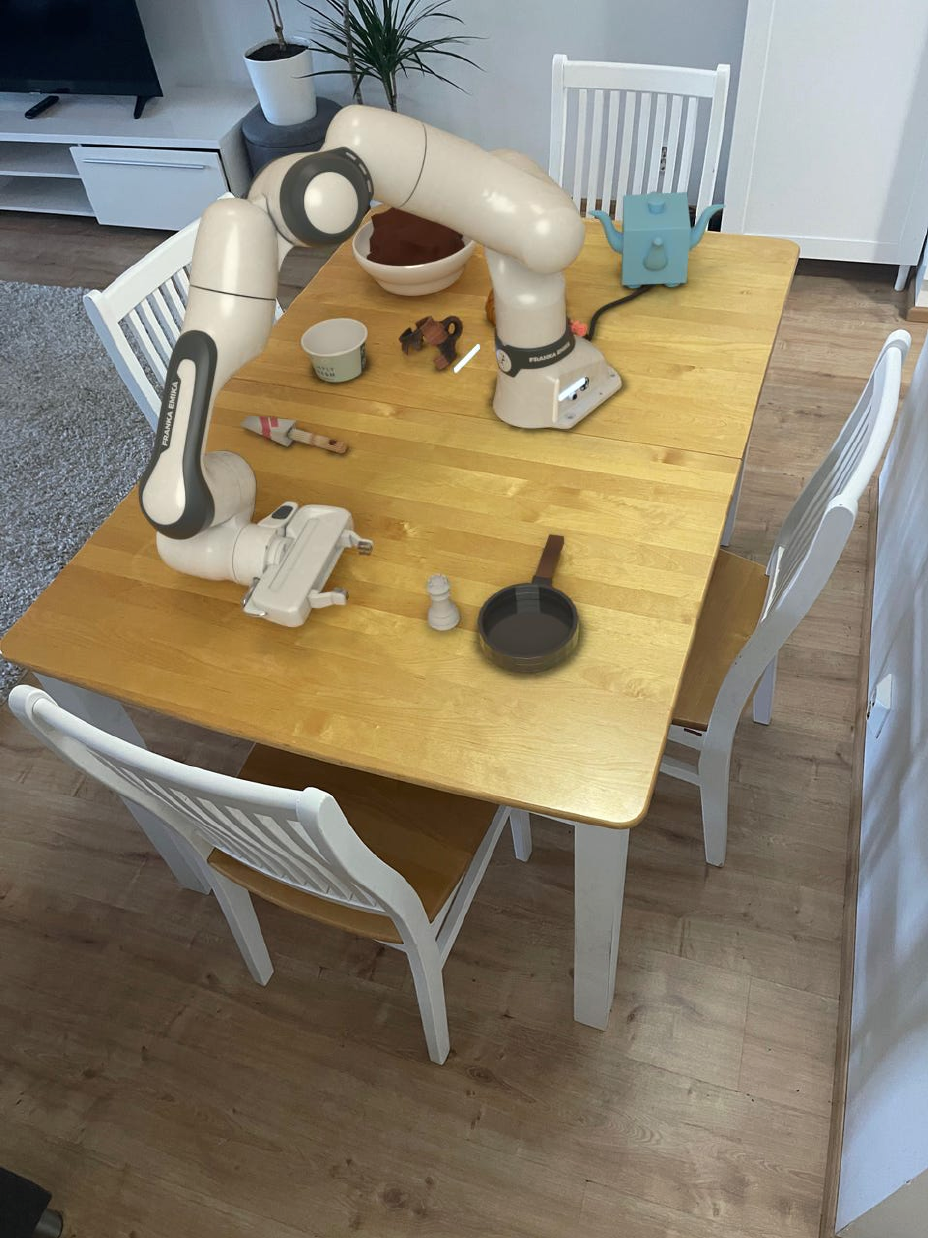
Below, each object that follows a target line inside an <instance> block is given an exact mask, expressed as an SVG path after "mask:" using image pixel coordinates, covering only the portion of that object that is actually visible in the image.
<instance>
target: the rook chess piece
mask: <svg viewBox="0 0 928 1238" xmlns="http://www.w3.org/2000/svg"><path fill="white" fill-rule="evenodd" d="M429 577H430V578H428V579H427V582H426V584H425V588H426V591H427V592H428V595H429V598H430V600H431V602H430V603H431V605H429V608H428V610H427V623H428V625H429V626H430V627H431V628H432V629H435V630H437V631H440V632H446V631H449V630H452V629H453V628H455V627H456V626H457V625H458V624H459V622H460V620H461V615H460V611H459V608H458V607H457V604H455V603H454V602H453V601H452V600H451V598H450V594H451V590H450V588H451V581H450V580H449V579H448V578H447V576H446V575H445V574H443V575H442V574H441V573H436V575H434V574H432V575H430V576H429Z"/></svg>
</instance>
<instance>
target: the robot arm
mask: <svg viewBox="0 0 928 1238" xmlns="http://www.w3.org/2000/svg"><path fill="white" fill-rule="evenodd" d="M372 201H374V202H378V203H380V204H383V205H386V206H388V207H390V208H391V207H394V208H396V209H399V210H402V211H405V212H408V213H411V214H414V215H416V216H419V217H422V218H425V219H428V220H430V221H433V222H436V223H439V224H441V225H444V226H446V227H448V228H450V229H453V230H455V231H457V232H458V233H460V234H462V235H464V236H466V237H468V238H469V239H471V240H473V241H475V242H477V243H478V244H479V245H481V246H482V247H483V250H484V256H485V259H486V263H487V264H486V265H487V267H488V271H489V276H490V281H491V285H492V288H493V295H494V306H495V317H496V325H495V328H494V332H493V334H494V335H493V336H494V350H495V351H494V352H495V357H496V364H497V377H496V386H495V392H494V397H493V400H492V410H493V411H494V414H495V415H496V417H498V418H499V419H500V420H501V421H503V422H504V423H505V424H509V425H511V426H514V427H518V428H523V429H543V428H553V429H561V430H568V429H572V428H573V427H574V426H576V425H578V423H579V422H581V421H582V420H583V419H585V417H587V416H588V415H589V414H590V413H592V412H593V411H594V410H596V409H597V408H599V407H600V406H601V405H602V404H603V403H604V402H605V401H607V400H608V399H609V398H611V397H612V396H613V395H614V394H616V393H617V392H618V391H619V390H620V389H621V388H622V386H623V384H622V383H623V382H622V378H621V376H620V375H619V373H618V372H617V371H616V370H615V369H614V368H613V367H612V366H610V365H609V364H608V363H607V359H606V356H605V355H604V353H603V352H602V350H601V349H600V347H598V346H597V345H595V344H594V343H593V342H591V341H590V340H591V339H592V338H593V336H594V333H595V328H596V322H597V320H598V318H599V317H600V315H601V314H603V313H604V312H605V311H608V310H609V309H611V308H614V307H616V306H619V305H621V304H624V303H626V302H629V301H631V300H634V299H635V298H637V297H639V296H640V295H642V294H645V293H646V292H647V291H649V290H650V289H653V288H654V287H656V286H657V285H658V284H646V285H645V286H643V287H642V288H640V289H638V290H637V291H635V292H633V293H631V294H628V295H626V296H625V297H621V298H619V299H617V300H614V301H612V302H609V303H607V304H604V305H603V306H602V307H600V308H599V309H598V310H597V311H595V313H594V314H593V316H592V318H591V321H590V325H589V330H588V325H586V324H585V323H582V322H581V321H580V320H576V321H572V318H571V317H569V316H567V293H566V292H567V291H566V279H565V275H564V272H563V271H564V270H565V269H566V270H567V268H569V267H570V266H571V265H572V264H573V263H574V262H575V261H576V260H577V259H578V257H579V256H580V254H581V252H582V250H583V248H584V245H585V241H586V227H585V222H584V220H583V218H582V216H581V213H580V210H579V209H578V207H577V205H576V203H575V201H574V199H573V198H572V197H571V196H570V194H569V193H567V191H565V190H564V189H563V188H562V187H561V186H560V185H559V184H558V183H557V181H556V180H554V178H552V177H551V176H550V174H548V173H547V172H546V170H545V169H544V168H542V166H541V165H539V163H537V162H536V161H535V160H534V159H533V158H532V157H531V156H529V155H527V154H524V153H522V152H520V151H517V150H514V149H511V148H507V147H505V148H503V147H500V148H496V149H493V150H491V151H487V150H485V149H483V148H481V147H480V146H478V145H477V144H475V143H474V142H472V141H470V140H467V139H464V138H463V137H460V136H457V135H455V134H452V133H450V132H448V131H445V130H443V129H440V128H438V127H436V126H433V125H431V124H428V123H425V122H423V121H422V120H418V119H416V118H413V117H410V116H408V115H404V114H402V113H398V112H396V111H392V110H388V109H384V108H379V107H374V106H368V105H363V104H349V105H347V106H345V107H343V108H342V109H340V110H339V111H338V112H337V113H336V114H335V115H334V117H333V118H332V120H331V121H330V123H329V125H328V127H327V130H326V134H325V139H324V143H323V144H322V146H321V147H320V149H319V150H317V151H308V152H296V153H291V154H289V155H280V156H276V157H274V158H272V159H270V160H268V161H267V162H265V163H264V164H263V165H262V166H261V167H260V168H259V169H258V170H257V172H256V173H255V175H254V176H253V178H252V180H251V181H250V183H249V184H248V185H247V186H246V189H245V190H244V191H243V193H242V195H241V196H240V197H226V198H221V199H217V200H215V201H213V202H211V203H210V204H208V205H207V206H206V207H205V208H204V210H203V212H202V214H201V217H200V220H199V224H198V227H197V231H196V236H195V241H194V246H193V252H192V256H191V262H190V263H191V264H190V269H189V271H190V272H189V280H188V292H187V298H186V299H187V301H186V307H185V312H184V317H183V322H182V326H181V329H180V332H179V335H178V337H177V340H176V342H175V345H174V347H173V349H172V352H171V354H170V358H169V362H168V365H167V372H166V376H165V381H164V386H163V391H162V392H163V393H162V397H161V404H160V410H159V415H158V421H157V427H156V433H155V438H154V444H153V449H152V453H151V455H150V458H149V461H148V463H147V465H146V467H145V469H144V471H143V473H142V475H141V477H140V480H139V483H138V492H137V493H138V502H139V507H140V509H141V512H142V514H143V516H144V518H145V520H146V521H147V522H148V524H149V525H150V526H151V527H152V528H153V529H154V530H155V531H156V533H155V534H156V536H155V543H156V549H157V552H158V555H159V556H160V558H161V560H162V561H163V562H164V563H165V564H166V565H167V566H168V567H170V568H171V569H172V570H175V571H177V572H178V573H182V574H185V575H188V576H192V577H195V578H201V579H205V580H208V581H209V580H210V581H216V582H221V581H231V582H234V583H235V584H237V585H240V586H243V587H248V589H247V591H246V592H245V594H244V595H243V596H242V598H241V600H240V606H241V607H240V608H241V611H242V613H243V614H244V615H246V616H248V617H254V618H262V619H264V620H267V621H269V622H272V623H274V624H277V625H280V626H284V627H289V628H297V627H300V626H302V625H304V624H305V622H306V620H307V619H308V617H309V615H310V613H311V611H312V609H323V608H327V607H329V606H333V605H337V606H345V605H346V603H347V602H348V600H349V598H350V594H349V591H348V589H346V588H341V587H337V586H336V587H334V588H333V589H332V590H331V591H326V592H322V591H323V590H324V587H325V586H326V583H327V581H328V580H329V578H330V576H331V575H332V572H333V571H334V569H335V567H336V565H337V563H338V561H339V560H340V557H341V556H342V554H343V552H344V550H345V548H349V549H351V548H352V547H353V546H354V547H355V548H356V549H357V550H358V555H360V556H367V557H370V556H371V555H372V553H373V552H374V550H375V544H374V541H373V540H371V539H366V538H362V537H361V536H360V535H358V534H357V533H356V532H355V523H354V518H353V515H352V513H351V512H350V511H349V510H348V509H347V508H344V507H341V506H334V505H325V504H316V503H315V504H311V503H309V504H306V505H303V506H299V504H298V502H295V501H290V500H289V501H285V502H284V503H282V504H281V505H280V506H278V507H277V508H276V509H275V510H274V511H273V512H272V513H270V514H269V515H267V516H266V517H264V518H263V519H260V521H258V522H257V523H253V519H254V515H255V509H256V503H257V495H258V483H257V477H256V474H255V472H254V469H253V467H252V466H251V465H250V463H249V462H248V461H247V460H246V459H245V458H244V457H243V456H242V455H240V454H238V453H237V452H234V451H232V450H227V449H222V450H221V449H220V450H216V451H209V452H206V450H207V443H208V439H209V433H210V427H211V421H212V416H213V410H214V406H215V402H216V400H217V398H218V395H219V393H220V392H221V391H222V389H223V387H224V386H225V384H226V383H227V382H228V381H229V380H230V379H231V378H232V377H233V376H234V375H236V374H237V373H238V372H239V371H240V370H242V369H243V368H244V367H246V366H247V365H249V364H250V363H252V362H253V361H254V360H256V359H257V358H259V356H260V355H262V353H263V352H264V351H265V350H266V349H267V347H268V344H269V341H270V338H271V335H272V331H273V328H274V323H275V319H276V318H275V317H276V310H277V299H278V288H279V273H280V272H281V269H282V265H283V262H284V259H286V256H287V254H288V253H289V252H290V251H291V250H292V249H293V248H294V247H302V248H303V247H304V248H315V249H322V250H323V249H331V248H335V247H338V246H341V245H342V244H344V243H346V242H348V240H350V239H351V238H352V237H354V236H355V234H356V233H357V232H358V230H359V229H360V226H361V225H362V222H363V220H364V217H365V214H366V211H367V209H368V207H369V205H370V204H371V202H372ZM689 217H690V219H692V220H695V219H697V216H696V215H695V214H694V213H689ZM588 331H589V332H588ZM479 350H480V344H478V343H477V344H476V346H474V347H473V348H472V350H471V351H469V352H468V353H467V354H466V356H465V357H464V358H463V359H462V360H461V361H460V362H459V363H457V365H456V366H455V367H454V373H458V372H459V371H460V370H461V368H462V367H463V366H464V365H466V363H467V362H468V361H469V360H470V359H471V358H472V357H473V356H474V355H475V354H476V353H477V352H478V351H479Z"/></svg>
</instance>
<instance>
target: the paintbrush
mask: <svg viewBox="0 0 928 1238" xmlns="http://www.w3.org/2000/svg"><path fill="white" fill-rule="evenodd" d="M296 423H297V420H296V419H288V418H279V417H278V418H277V417H268V416H259V415H258V416H256V415H247V417H246V418H245V419H244V420H243V421H242V422H241V423H240V424H239V425H240V426H241V427H242V428H245V429H248V430H249V431H251V432H254V433H256V434H258V435H260V436H263V437H265V438H267V439H269V440H272V441H274V442H275V443H278V444H280V445H282V446H284V447H289V446H290V445H291V444H292V442H293V441H296V442H299V443H303V444H307V445H311V446H315V447H318V448H322V449H325V450H329V451H332V452H336V453H340V454H345V453H346V451H347V447H348V446H347V444H348V443H346V442H345V441H341V440H337V439H333V438H330V437H326V436H322V435H319V434H315V433H311V432H308V431H304V430H301V429H297V427H296Z"/></svg>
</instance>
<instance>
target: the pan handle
mask: <svg viewBox="0 0 928 1238" xmlns="http://www.w3.org/2000/svg"><path fill="white" fill-rule="evenodd" d="M564 546H565V535H559V534H552V533H549V534H548V536H547V540H546V542H545V545H544V548H543V551H542V553H541V557H540V560H539V562H538V565H537V568H536V571H535V574H533V576H532V578H531V582H530V583H541V584H545V585H549V586H551V587H553V586H552V585H553V579H554V575H555V573H556V570H557V566H558V563H559V561H560V557H561V555H562V551H563V549H564Z"/></svg>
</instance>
